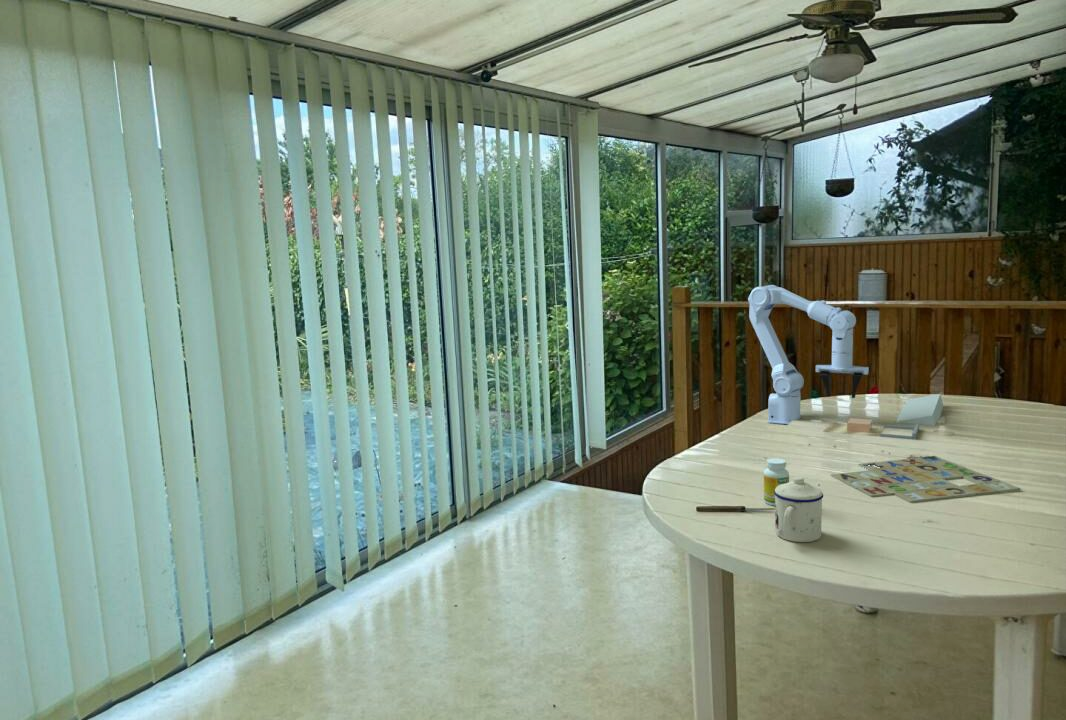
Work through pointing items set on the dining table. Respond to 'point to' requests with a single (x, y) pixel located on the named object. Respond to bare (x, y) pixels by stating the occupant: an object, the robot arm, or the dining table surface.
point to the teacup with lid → (798, 511)
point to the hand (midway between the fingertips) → (841, 396)
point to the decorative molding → (922, 410)
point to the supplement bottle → (774, 478)
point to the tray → (913, 437)
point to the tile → (859, 425)
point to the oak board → (843, 429)
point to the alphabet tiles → (921, 480)
